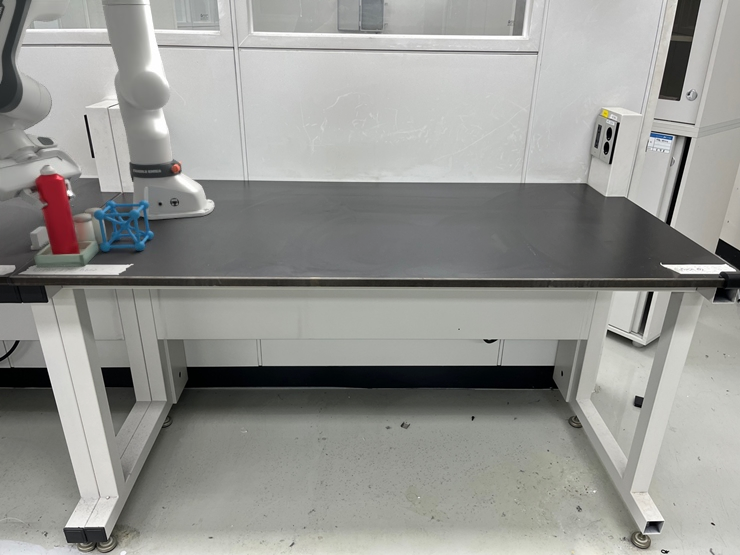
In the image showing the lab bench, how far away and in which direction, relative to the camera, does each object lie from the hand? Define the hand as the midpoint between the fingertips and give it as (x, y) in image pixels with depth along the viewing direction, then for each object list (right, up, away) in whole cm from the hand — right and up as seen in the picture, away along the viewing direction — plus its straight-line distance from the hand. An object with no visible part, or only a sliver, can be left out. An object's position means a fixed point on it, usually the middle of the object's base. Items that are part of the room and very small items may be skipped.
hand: (58, 203), depth 119 cm
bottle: (-1, -11, +5) cm, 12 cm away
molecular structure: (+9, -8, +14) cm, 19 cm away
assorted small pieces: (-4, -10, +10) cm, 15 cm away
